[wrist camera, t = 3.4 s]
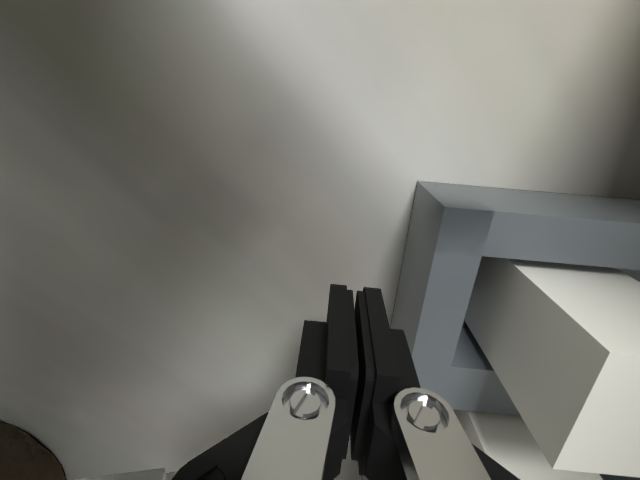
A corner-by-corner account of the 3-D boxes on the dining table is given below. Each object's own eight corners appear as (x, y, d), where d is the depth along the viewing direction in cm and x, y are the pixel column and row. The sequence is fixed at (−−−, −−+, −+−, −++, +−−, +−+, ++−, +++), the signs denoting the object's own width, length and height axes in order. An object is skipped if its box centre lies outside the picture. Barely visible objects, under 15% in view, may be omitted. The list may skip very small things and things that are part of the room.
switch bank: (357, 502, 23) (362, 585, 19) (417, 181, 15) (447, 209, 11) (687, 536, 22) (761, 627, 19) (938, 225, 14) (1167, 271, 10)
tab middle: (433, 426, 18) (486, 602, 12) (449, 369, 17) (519, 534, 10) (507, 433, 18) (600, 614, 12) (530, 376, 17) (651, 547, 10)
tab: (463, 318, 16) (552, 469, 9) (486, 239, 14) (610, 352, 8) (549, 326, 16) (700, 483, 9) (581, 248, 14) (787, 368, 8)
